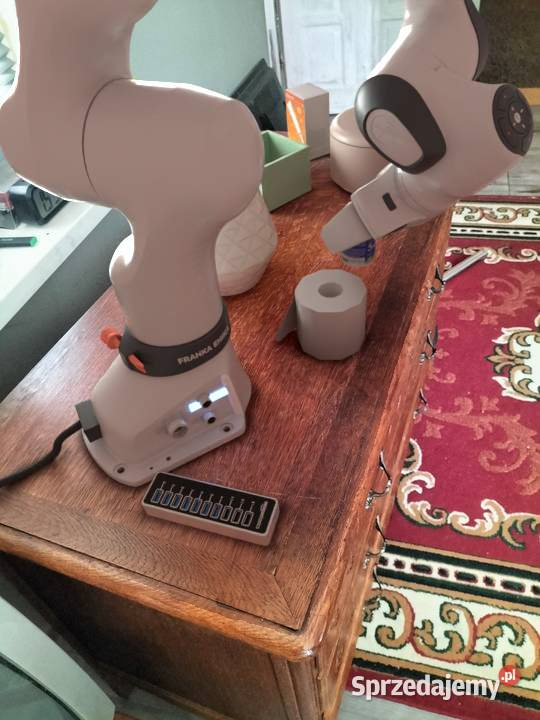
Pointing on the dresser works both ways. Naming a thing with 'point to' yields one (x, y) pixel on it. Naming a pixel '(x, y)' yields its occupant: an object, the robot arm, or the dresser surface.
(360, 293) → the toilet tissue
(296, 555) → the dresser surface
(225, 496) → the multiport hub
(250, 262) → the vase
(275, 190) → the bin
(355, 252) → the pill bottle
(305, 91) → the small box
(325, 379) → the dresser surface
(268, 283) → the dresser surface
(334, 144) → the container
